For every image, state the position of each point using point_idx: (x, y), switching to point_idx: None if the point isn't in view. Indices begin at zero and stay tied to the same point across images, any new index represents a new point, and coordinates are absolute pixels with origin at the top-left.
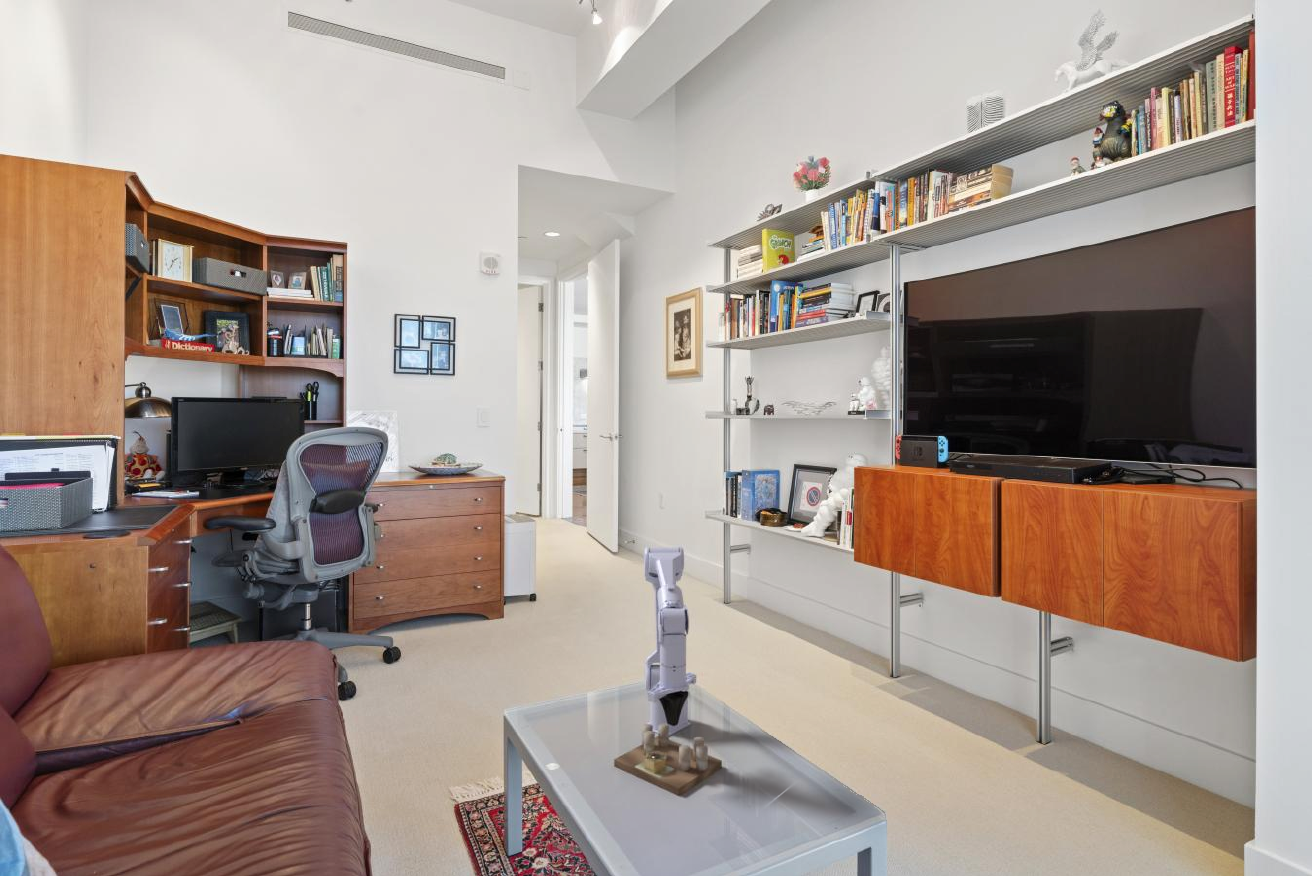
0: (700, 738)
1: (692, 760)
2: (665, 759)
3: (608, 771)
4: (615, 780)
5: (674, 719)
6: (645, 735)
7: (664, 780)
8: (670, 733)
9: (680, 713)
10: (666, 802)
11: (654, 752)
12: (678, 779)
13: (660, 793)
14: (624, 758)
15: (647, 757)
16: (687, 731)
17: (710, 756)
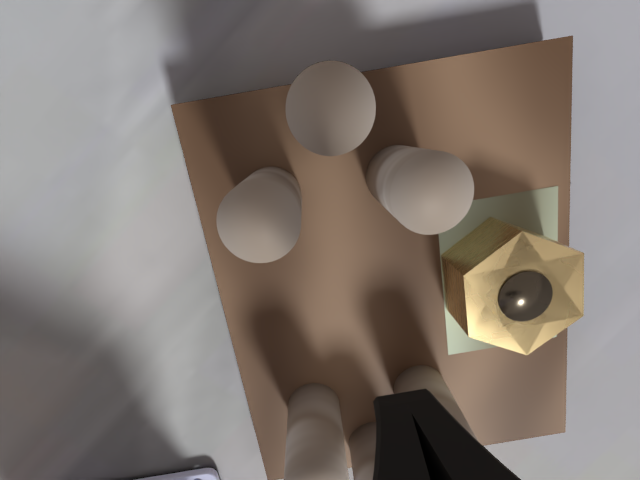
0: (238, 227)
1: (303, 213)
2: (515, 237)
3: (582, 397)
4: (616, 331)
5: (465, 431)
6: None
7: (559, 151)
8: (186, 478)
9: (381, 472)
10: (618, 49)
11: (495, 334)
12: (503, 109)
13: (575, 131)
14: (529, 415)
15: (563, 316)
16: (97, 459)
17: (193, 183)
